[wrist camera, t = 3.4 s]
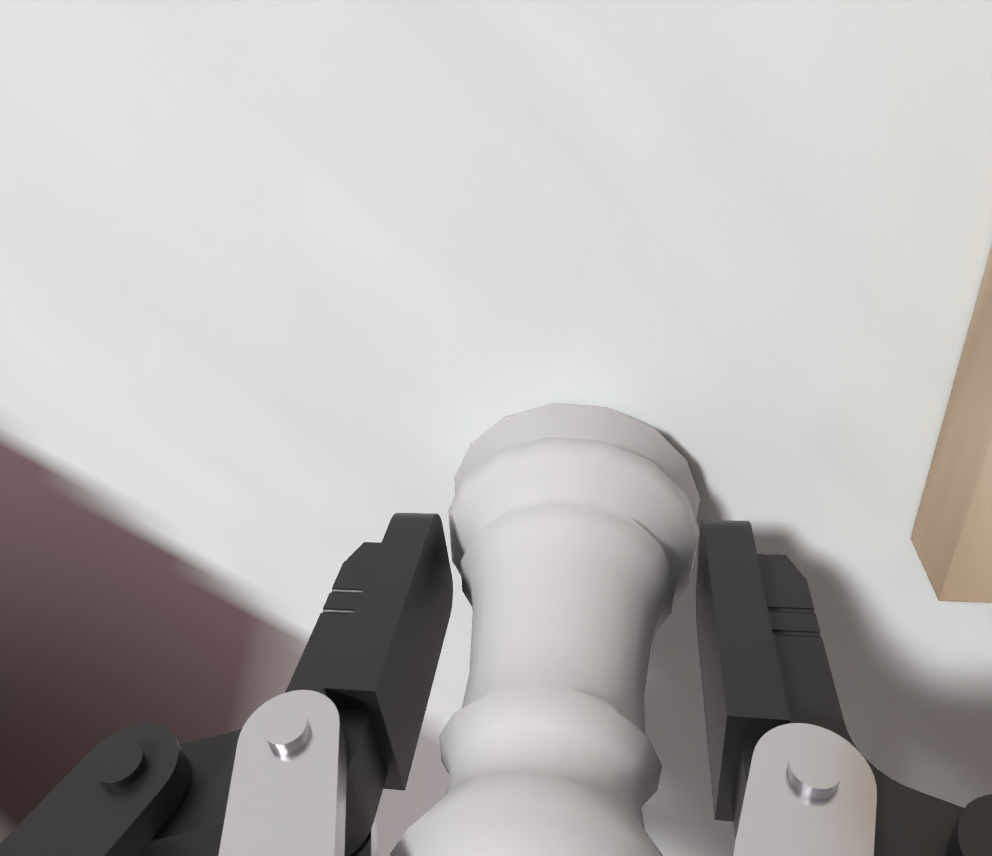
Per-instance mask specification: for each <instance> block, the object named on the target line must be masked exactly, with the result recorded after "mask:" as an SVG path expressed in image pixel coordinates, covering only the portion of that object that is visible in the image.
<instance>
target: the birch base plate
mask: <svg viewBox="0 0 992 856" xmlns="http://www.w3.org/2000/svg"><path fill="white" fill-rule="evenodd" d="M911 540H912V543H913V545H914V547H915V549H916V551H917V554H918V556H919V558H920V560H921V562H922V565H923V567H924V569H925V571H926V573H927V576H928V578H929V580H930V582H931V584H932V587H933V589H934V591H935V593H936V595H937V598H938V600H939V601H960V602H986V603H992V247H991V250H990V254H989V258H988V261H987V265H986V268H985V272H984V276H983V279H982V283H981V286H980V290H979V294H978V297H977V301H976V305H975V308H974V312H973V315H972V319H971V323H970V326H969V330H968V333H967V337H966V341H965V344H964V348H963V351H962V355H961V359H960V362H959V366H958V369H957V373H956V377H955V380H954V384H953V387H952V391H951V395H950V398H949V402H948V405H947V409H946V413H945V416H944V420H943V424H942V427H941V431H940V434H939V438H938V442H937V445H936V449H935V452H934V456H933V460H932V463H931V467H930V470H929V474H928V478H927V481H926V485H925V488H924V492H923V496H922V499H921V503H920V506H919V510H918V514H917V517H916V521H915V525H914V528H913V532H912V535H911Z"/></svg>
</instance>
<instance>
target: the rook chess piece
mask: <svg viewBox="0 0 992 856" xmlns="http://www.w3.org/2000/svg"><path fill="white" fill-rule="evenodd" d="M455 495H456V496H455V498H454V500H453V502H452V504H451V506H450V508H449V525H450V540H451V552H452V561H453V563H454V565H455V566H456V568H457V570H458V571H459V573H460V575H461V577H462V591H463V592H464V594H465V596H466V597H467V599H468V601H469V602H470V604H471V606H472V607H473V620H472V637H471V655H470V672H469V678H468V682H467V687H466V692H465V696H464V701H463V705H462V709H460V710H459V711H457V712H456V713H454V714H453V716H452V717H451V719H450V720H449V722H448V723H447V725H446V727H445V728H444V730H443V731H442V733H441V734H440V736H439V739H440V750H441V760H442V762H443V765H444V766H445V768H446V770H447V772H448V773H449V775H450V783H449V786H448V789H447V792H446V795H445V797H444V798H443V799H441V800H440V801H439V802H438V803H437V804H436V805H434V806H433V807H432V808H431V809H430V810H429V811H428V812H426V813H425V814H424V815H423V816H422V817H421V818H419V819H418V820H417V821H416V822H415V823H414V824H413V825H411V826H410V827H409V828H408V829H407V830H406V832H405V833H404V835H403V836H402V837H401V839H400V841H399V842H398V843H397V845H396V846H395V848H394V849H393V850H392V852H391V853H390V855H391V856H663V855H662V854H661V852H660V851H659V850H658V848H657V847H656V845H655V844H654V843H653V841H652V840H651V838H650V837H649V836H648V834H647V833H646V831H645V830H644V824H643V817H642V806H643V805H644V804H645V802H646V801H647V800H648V799H649V798H650V797H651V796H652V795H653V794H654V793H655V792H656V791H657V788H658V783H659V778H660V773H661V768H662V765H661V762H660V760H659V758H658V756H657V754H656V752H655V750H654V748H653V746H652V744H651V742H650V740H649V738H648V737H647V736H646V735H645V734H644V690H645V683H646V676H647V669H648V662H649V655H650V648H651V643H652V640H653V637H654V634H655V631H656V630H657V628H658V627H659V626H660V625H661V624H662V622H663V621H664V620H665V619H666V618H667V617H668V615H669V614H670V613H671V610H672V604H673V602H674V601H675V600H676V598H677V597H678V596H679V595H680V594H681V592H682V591H683V590H684V589H685V588H686V586H687V585H688V584H689V580H690V577H691V574H692V571H693V567H694V561H695V556H696V551H697V545H698V540H699V535H700V531H699V528H698V526H697V523H696V520H697V514H698V509H699V503H700V496H699V493H698V490H697V487H696V485H695V482H694V479H693V476H692V473H691V470H690V467H689V465H688V462H687V460H686V459H685V458H684V457H683V456H682V455H681V454H680V453H679V452H678V451H677V450H676V449H675V448H674V447H673V446H672V445H671V444H670V443H669V442H668V441H667V440H666V439H665V438H664V437H663V436H662V435H661V434H660V433H659V432H658V431H657V430H656V429H655V428H654V427H652V426H650V425H647V424H645V423H643V422H640V421H638V420H636V419H633V418H631V417H628V416H626V415H624V414H621V413H619V412H617V411H614V410H612V409H610V408H607V407H599V406H585V405H570V404H556V403H553V404H549V405H545V406H542V407H538V408H535V409H531V410H528V411H524V412H520V413H517V414H513V415H510V416H506V417H504V418H503V419H502V420H500V421H499V422H498V423H497V424H495V425H494V426H493V427H491V428H490V429H489V430H488V431H486V432H485V433H484V434H482V435H481V436H480V437H479V438H477V439H476V440H475V441H473V442H472V443H471V445H470V447H469V449H468V451H467V453H466V455H465V457H464V459H463V461H462V463H461V465H460V468H459V470H458V472H457V474H456V476H455Z"/></svg>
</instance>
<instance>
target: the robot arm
mask: <svg viewBox="0 0 992 856" xmlns="http://www.w3.org/2000/svg"><path fill="white" fill-rule="evenodd" d="M452 599H453V582H452V574H451V569H450V564H449V558H448V553H447V547H446V542H445V536H444V531H443V526H442V521H441V518H440V516H439V515H438V514H421V513H395V514H394V515H393V517H392V519H391V521H390V523H389V526H388V528H387V531H386V533H385V536H384V538H383V541H382V543H371V542H364V543H363V544H362V545H361V546H360V547H359V548H358V549H357V550H356V551H355V552H354V553H353V554H352V555H351V556H350V557H349V558H348V559H347V560H346V561H345V562H344V563H343V565H342V567H341V569H340V571H339V574H338V576H337V578H336V580H335V583H334V585H333V587H332V593H330V594H329V596H328V598H327V601H326V603H325V605H324V607H323V613H321V614H320V616H319V619H318V621H317V623H316V625H315V627H314V630H313V632H312V634H311V636H310V639H309V641H308V643H307V645H306V648H305V650H304V652H303V654H302V657H301V659H300V661H299V663H298V666H297V668H296V670H295V672H294V675H293V677H292V679H291V682H290V684H289V686H288V688H287V690H286V691H285V693H283V694H281V695H278V696H276V697H274V698H272V699H271V700H269V701H267V702H266V703H264V704H263V705H262V706H260V707H259V708H258V709H257V710H256V711H255V712H254V713H253V714H252V715H251V716H250V717H249V719H248V720H247V722H246V723H245V725H244V726H243V728H242V729H240V730H237V731H234V732H230V733H227V734H223V735H219V736H214V737H210V738H206V739H201V740H197V741H193V742H189V743H185V744H180V745H179V743H178V741H177V739H176V738H175V736H174V734H173V733H172V732H171V731H170V730H168V729H167V728H165V727H163V726H160V725H156V724H139V725H135V726H131V727H128V728H125V729H122V730H120V731H118V732H116V733H114V734H112V735H111V736H109V737H107V738H106V739H104V740H103V741H102V742H101V743H99V744H98V745H97V746H96V747H95V748H93V749H92V750H91V751H90V752H89V753H88V754H87V755H86V756H85V757H84V758H83V759H82V760H81V761H80V762H79V763H78V764H77V765H76V767H75V768H74V769H73V770H72V771H71V772H70V773H69V774H68V775H67V776H66V777H65V778H64V779H63V780H62V781H61V782H60V783H59V784H58V785H57V786H56V787H55V788H54V789H53V790H52V791H51V792H50V793H49V794H48V795H47V796H46V797H45V798H44V799H43V800H42V801H41V802H40V803H39V805H38V806H37V807H36V808H35V809H34V810H33V811H32V812H31V813H30V814H29V815H28V816H27V817H26V818H25V819H24V820H23V821H22V822H21V823H20V824H19V825H18V826H17V827H16V828H15V829H14V830H13V831H12V832H11V833H10V834H9V835H8V836H7V837H6V838H5V839H4V840H3V842H2V843H1V844H0V856H378V830H377V822H376V819H375V815H376V812H377V808H378V805H379V801H380V798H381V794H382V790H383V788H384V789H396V790H405V788H406V784H407V780H408V776H409V772H410V769H411V765H412V761H413V757H414V753H415V749H416V745H417V741H418V737H419V734H420V730H421V726H422V722H423V718H424V715H425V711H426V707H427V703H428V699H429V695H430V691H431V687H432V684H433V680H434V676H435V672H436V668H437V664H438V660H439V657H440V653H441V649H442V645H443V641H444V637H445V633H446V629H447V626H448V622H449V618H450V614H451V608H452ZM696 621H697V633H698V644H699V655H700V665H701V676H702V687H703V697H704V708H705V719H706V730H707V740H708V751H709V762H710V772H711V783H712V794H713V804H714V815H715V820H723V821H734V830H735V839H736V841H735V846H734V851H733V856H992V794H991V795H985V796H982V797H979V798H977V799H975V800H973V801H972V802H970V803H969V804H968V805H967V806H966V807H965V808H963V807H960V806H957V805H954V804H952V803H949V802H946V801H943V800H941V799H938V798H935V797H932V796H930V795H927V794H924V793H921V792H919V791H916V790H913V789H911V788H908V787H906V786H904V785H901V784H900V783H898V782H896V781H894V780H892V779H891V778H889V777H887V776H886V775H884V774H883V773H882V772H880V771H879V770H877V769H876V768H875V767H874V766H873V765H872V764H871V763H869V762H868V761H867V760H866V758H865V757H864V756H863V755H862V754H861V753H860V752H859V750H858V749H857V748H856V746H855V745H854V744H853V742H852V740H851V738H850V736H849V734H848V732H847V729H846V726H845V723H844V719H843V716H842V712H841V708H840V704H839V701H838V697H837V693H836V689H835V686H834V682H833V678H832V674H831V671H830V667H829V663H828V659H827V656H826V652H825V648H824V644H823V641H822V638H820V629H819V626H818V622H817V618H816V614H814V607H813V603H812V599H811V596H810V592H809V588H808V584H807V581H806V579H805V578H804V577H803V575H802V574H801V573H800V572H799V571H798V569H797V568H796V567H795V566H794V565H793V563H792V562H791V561H790V560H789V559H788V557H787V556H786V555H763V554H757V553H756V548H755V543H754V537H753V532H752V528H751V524H750V522H749V521H719V520H702V521H701V526H700V539H699V554H698V569H697V583H696Z"/></svg>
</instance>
